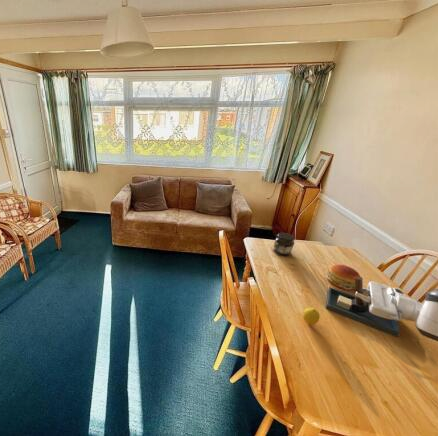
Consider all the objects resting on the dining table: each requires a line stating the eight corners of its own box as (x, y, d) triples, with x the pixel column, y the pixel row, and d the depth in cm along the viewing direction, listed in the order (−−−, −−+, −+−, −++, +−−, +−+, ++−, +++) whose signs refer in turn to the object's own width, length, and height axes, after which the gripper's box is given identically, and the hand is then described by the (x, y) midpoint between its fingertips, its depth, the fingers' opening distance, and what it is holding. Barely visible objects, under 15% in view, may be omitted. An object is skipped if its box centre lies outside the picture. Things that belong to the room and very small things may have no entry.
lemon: (300, 315, 102) (305, 302, 98) (315, 321, 99) (321, 307, 96) (300, 324, 98) (306, 311, 94) (316, 330, 95) (322, 316, 92)
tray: (392, 315, 102) (395, 310, 101) (396, 338, 92) (400, 332, 90) (327, 291, 115) (329, 286, 114) (325, 309, 105) (327, 304, 104)
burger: (329, 288, 117) (336, 273, 113) (320, 272, 129) (326, 258, 124) (361, 294, 113) (369, 279, 109) (349, 277, 125) (356, 262, 120)
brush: (369, 308, 101) (369, 277, 97) (364, 314, 99) (363, 282, 95) (354, 303, 106) (353, 273, 102) (349, 309, 104) (348, 278, 100)
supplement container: (276, 246, 154) (280, 230, 149) (293, 252, 147) (298, 236, 142) (269, 251, 148) (273, 235, 143) (286, 258, 141) (292, 242, 136)
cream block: (349, 304, 107) (351, 299, 105) (348, 310, 104) (351, 305, 102) (337, 299, 109) (339, 295, 108) (336, 305, 106) (338, 300, 105)
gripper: (399, 328, 87) (352, 310, 95) (392, 297, 102) (352, 284, 110) (407, 316, 85) (358, 299, 92) (398, 286, 99) (357, 273, 107)
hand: (355, 290), depth 101 cm, fingers closed on brush, 2 cm apart
